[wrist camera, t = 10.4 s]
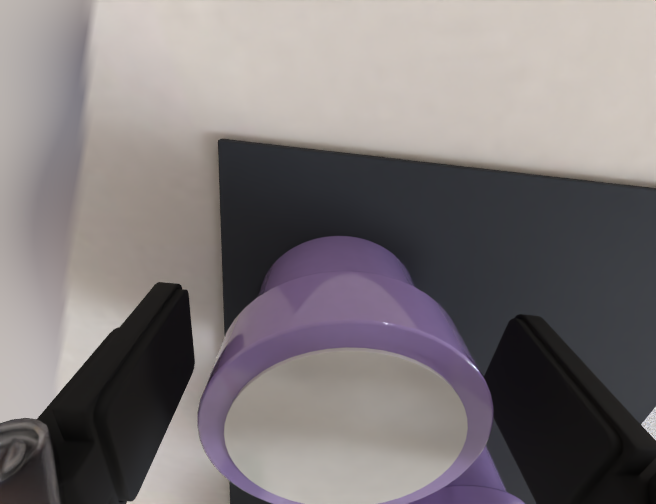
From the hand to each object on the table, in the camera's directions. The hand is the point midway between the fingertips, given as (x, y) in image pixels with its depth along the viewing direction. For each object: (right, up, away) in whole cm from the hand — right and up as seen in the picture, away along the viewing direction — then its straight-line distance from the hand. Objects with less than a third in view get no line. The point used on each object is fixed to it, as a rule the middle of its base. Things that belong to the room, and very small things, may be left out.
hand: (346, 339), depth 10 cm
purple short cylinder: (0, +1, +2) cm, 2 cm away
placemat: (+4, -7, +6) cm, 10 cm away
